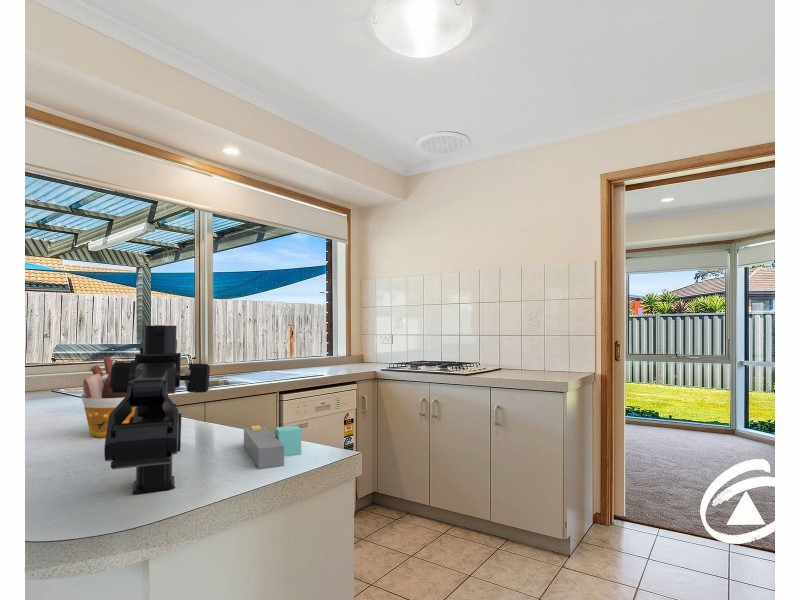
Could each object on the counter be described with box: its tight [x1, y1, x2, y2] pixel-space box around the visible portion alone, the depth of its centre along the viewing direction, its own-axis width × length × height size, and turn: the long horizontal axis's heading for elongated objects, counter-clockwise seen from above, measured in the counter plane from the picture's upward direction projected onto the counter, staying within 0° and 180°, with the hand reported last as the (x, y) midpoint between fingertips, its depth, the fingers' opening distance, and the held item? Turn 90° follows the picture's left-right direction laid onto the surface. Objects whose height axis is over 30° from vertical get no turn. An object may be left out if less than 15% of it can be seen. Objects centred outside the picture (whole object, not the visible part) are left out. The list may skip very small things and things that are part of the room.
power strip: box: [243, 425, 285, 470], centre depth 106 cm, size 24×5×5 cm, turn 27°
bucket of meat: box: [81, 356, 137, 439], centre depth 127 cm, size 20×16×20 cm
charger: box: [274, 425, 302, 457], centre depth 105 cm, size 4×7×6 cm, turn 117°
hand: (163, 377), depth 108 cm, fingers open, 9 cm apart
